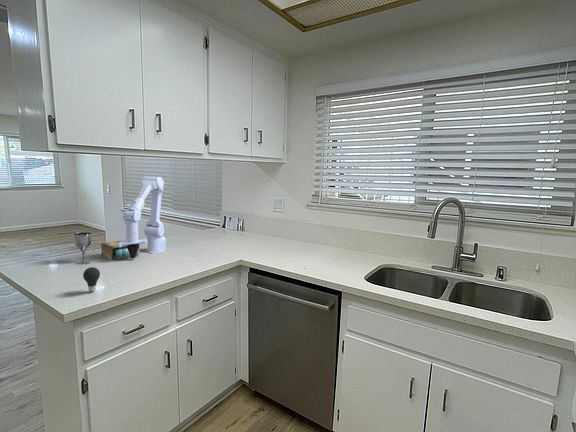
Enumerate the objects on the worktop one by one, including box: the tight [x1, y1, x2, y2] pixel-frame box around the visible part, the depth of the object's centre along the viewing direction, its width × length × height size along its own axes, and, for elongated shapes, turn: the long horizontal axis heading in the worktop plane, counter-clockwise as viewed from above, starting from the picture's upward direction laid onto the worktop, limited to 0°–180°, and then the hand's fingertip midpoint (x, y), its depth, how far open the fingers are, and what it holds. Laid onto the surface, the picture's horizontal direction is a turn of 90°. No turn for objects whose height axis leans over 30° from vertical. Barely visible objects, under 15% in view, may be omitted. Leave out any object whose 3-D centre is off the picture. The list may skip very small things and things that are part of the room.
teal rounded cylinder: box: [122, 248, 130, 256], centre depth 174 cm, size 4×4×4 cm
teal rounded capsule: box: [114, 249, 123, 257], centre depth 171 cm, size 4×4×4 cm
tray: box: [112, 253, 139, 261], centre depth 173 cm, size 11×11×2 cm
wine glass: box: [72, 231, 93, 265], centre depth 159 cm, size 8×8×15 cm
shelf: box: [100, 239, 141, 260], centre depth 175 cm, size 16×10×7 cm, turn 143°
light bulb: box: [82, 266, 101, 293], centre depth 124 cm, size 6×6×10 cm
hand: (132, 258), depth 168 cm, fingers closed
